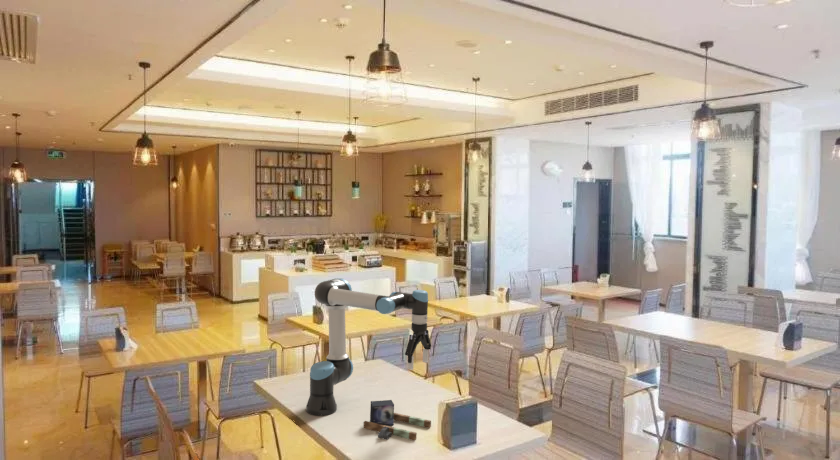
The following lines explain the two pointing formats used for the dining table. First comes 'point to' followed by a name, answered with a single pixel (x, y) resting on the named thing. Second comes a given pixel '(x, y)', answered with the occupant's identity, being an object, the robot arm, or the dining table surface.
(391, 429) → the beam slot
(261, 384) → the dining table surface
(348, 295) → the robot arm
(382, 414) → the small box
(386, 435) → the fulcrum
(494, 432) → the dining table surface
